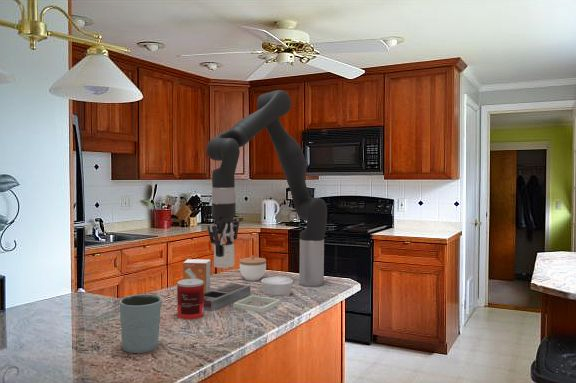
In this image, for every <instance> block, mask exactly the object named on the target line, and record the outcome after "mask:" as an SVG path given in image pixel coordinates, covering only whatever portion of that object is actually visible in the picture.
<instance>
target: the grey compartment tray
mask: <svg viewBox="0 0 576 383" xmlns="http://www.w3.org/2000/svg"><path fill="white" fill-rule="evenodd" d="M249 296H251V285H246V284H238V283H229V284H225V285H223V286H219V287H217V288H214V289H210V291H208V292H206V293H204V311H206V312H207V311H208V312H214V311H215V310H218V309H220V308H222V307H225V306H228V305H229V304H233V303H235V302H237V301H240V300H242V299H244V298H247V297H249Z"/></svg>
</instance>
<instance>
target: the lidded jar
mask: <svg viewBox="0 0 576 383" xmlns="http://www.w3.org/2000/svg"><path fill="white" fill-rule="evenodd" d="M266 270H267V259H265V258H264V257H255V255H251V256H250V257H244V258H241V259H239V272H240V274H241V276H242V277H243V278H244V280H245V281H251V282H253V281H254V282H256V281H259V280H260V281H261V279H262V277H263V276H264V275H265V273H266Z"/></svg>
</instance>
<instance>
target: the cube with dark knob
mask: <svg viewBox="0 0 576 383" xmlns="http://www.w3.org/2000/svg"><path fill="white" fill-rule="evenodd" d="M222 245H223V256H222V257H217V256H216V246H215V244H214V245H213V266H214V268H220V269H228V268H231V267H234V266H235V243H233V244H230V243H226V242H223V244H222Z"/></svg>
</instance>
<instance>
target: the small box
mask: <svg viewBox="0 0 576 383" xmlns="http://www.w3.org/2000/svg"><path fill="white" fill-rule="evenodd" d="M211 262H212V261H211V259H199V258H197V259H194V258H193V259H190V258H188V259H186V260H185V261H184V262H182V280H184V279H200V280H203V283H204V293H206V292H208V291H211Z"/></svg>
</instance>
